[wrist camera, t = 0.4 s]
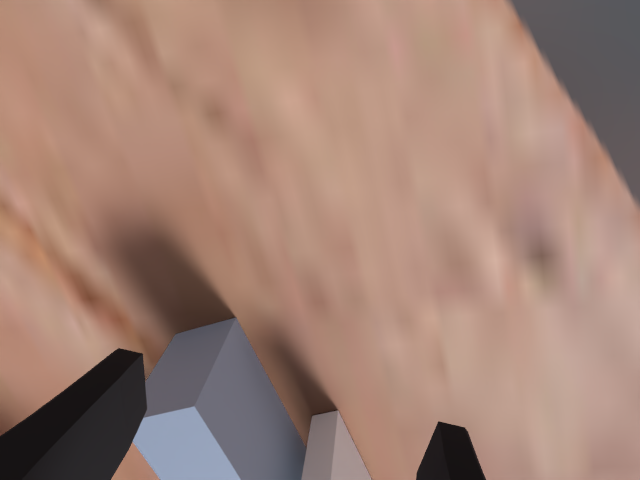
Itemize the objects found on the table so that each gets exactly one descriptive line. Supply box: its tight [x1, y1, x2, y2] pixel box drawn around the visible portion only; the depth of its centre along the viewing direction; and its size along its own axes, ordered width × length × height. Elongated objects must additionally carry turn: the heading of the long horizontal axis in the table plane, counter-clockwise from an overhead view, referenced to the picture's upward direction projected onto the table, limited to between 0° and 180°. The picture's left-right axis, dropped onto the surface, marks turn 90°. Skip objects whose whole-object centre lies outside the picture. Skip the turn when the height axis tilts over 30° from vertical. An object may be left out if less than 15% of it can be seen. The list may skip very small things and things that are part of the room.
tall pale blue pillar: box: [133, 318, 307, 480], centre depth 24 cm, size 4×12×6 cm, turn 22°
